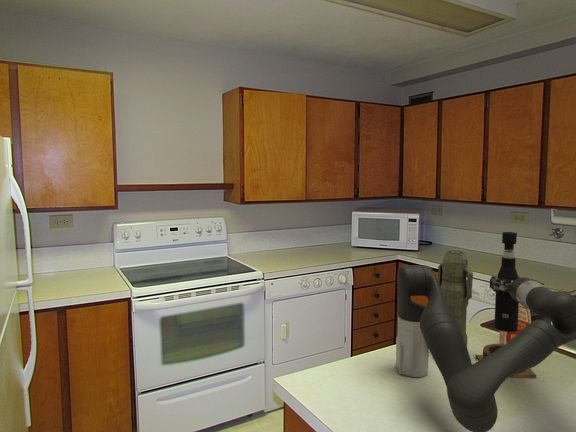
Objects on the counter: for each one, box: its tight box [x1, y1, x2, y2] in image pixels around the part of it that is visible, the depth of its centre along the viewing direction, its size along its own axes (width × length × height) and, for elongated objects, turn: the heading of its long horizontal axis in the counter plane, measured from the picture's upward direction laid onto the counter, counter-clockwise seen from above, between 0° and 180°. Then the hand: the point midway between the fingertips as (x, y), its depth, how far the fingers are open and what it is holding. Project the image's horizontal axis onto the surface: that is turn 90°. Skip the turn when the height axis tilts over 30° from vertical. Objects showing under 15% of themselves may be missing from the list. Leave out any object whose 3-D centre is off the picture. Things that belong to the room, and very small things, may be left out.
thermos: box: [437, 250, 474, 347], centre depth 137 cm, size 9×12×35 cm
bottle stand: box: [474, 343, 538, 379], centre depth 129 cm, size 13×13×5 cm
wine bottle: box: [494, 231, 519, 332], centre depth 126 cm, size 6×6×30 cm
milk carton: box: [498, 303, 532, 345], centre depth 142 cm, size 9×9×20 cm
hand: (504, 279), depth 128 cm, fingers closed on wine bottle, 6 cm apart
